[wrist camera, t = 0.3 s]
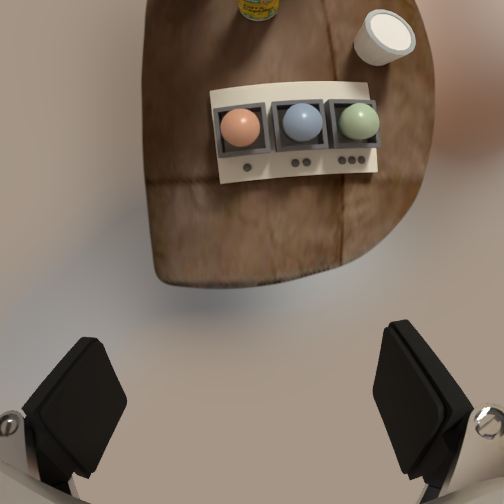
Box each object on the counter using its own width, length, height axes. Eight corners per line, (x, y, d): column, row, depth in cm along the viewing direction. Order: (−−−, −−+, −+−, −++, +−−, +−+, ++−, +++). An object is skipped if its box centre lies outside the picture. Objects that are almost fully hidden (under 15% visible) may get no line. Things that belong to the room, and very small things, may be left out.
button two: (279, 110, 29) (281, 104, 26) (314, 108, 29) (320, 102, 26) (283, 143, 31) (286, 141, 27) (318, 141, 30) (324, 139, 27)
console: (211, 93, 32) (204, 84, 28) (363, 85, 31) (375, 77, 26) (221, 183, 35) (216, 185, 31) (373, 171, 34) (387, 173, 30)
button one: (223, 116, 30) (218, 111, 26) (257, 112, 30) (257, 106, 26) (226, 149, 31) (222, 148, 28) (261, 145, 31) (261, 143, 27)
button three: (334, 108, 29) (342, 102, 26) (366, 108, 29) (376, 103, 25) (338, 140, 30) (347, 138, 27) (369, 140, 30) (381, 138, 27)
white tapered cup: (401, 51, 28) (424, 36, 22) (379, 79, 30) (401, 65, 23) (364, 21, 27) (381, 0, 21) (340, 47, 29) (355, 27, 22)
